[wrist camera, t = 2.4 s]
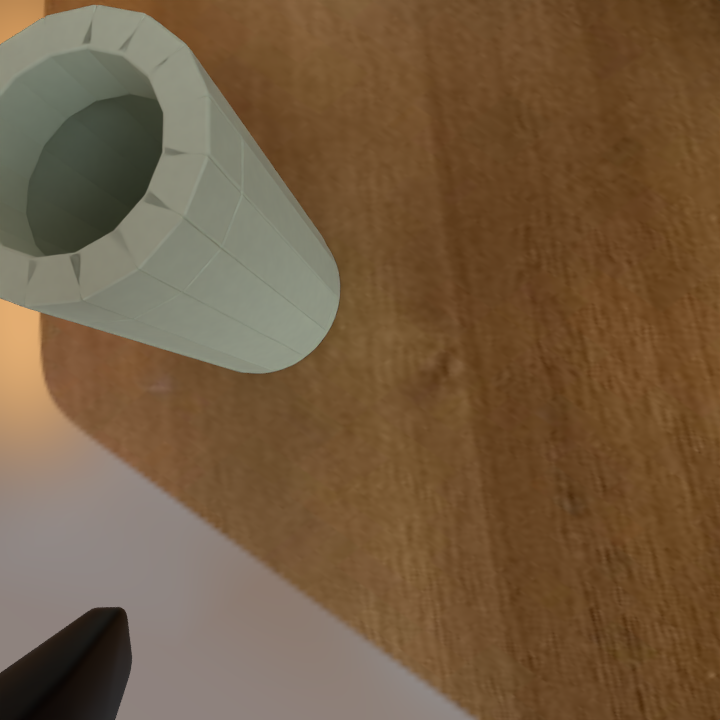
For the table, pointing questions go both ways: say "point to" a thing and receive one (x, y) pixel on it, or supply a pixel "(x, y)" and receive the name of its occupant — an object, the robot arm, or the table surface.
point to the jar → (150, 199)
